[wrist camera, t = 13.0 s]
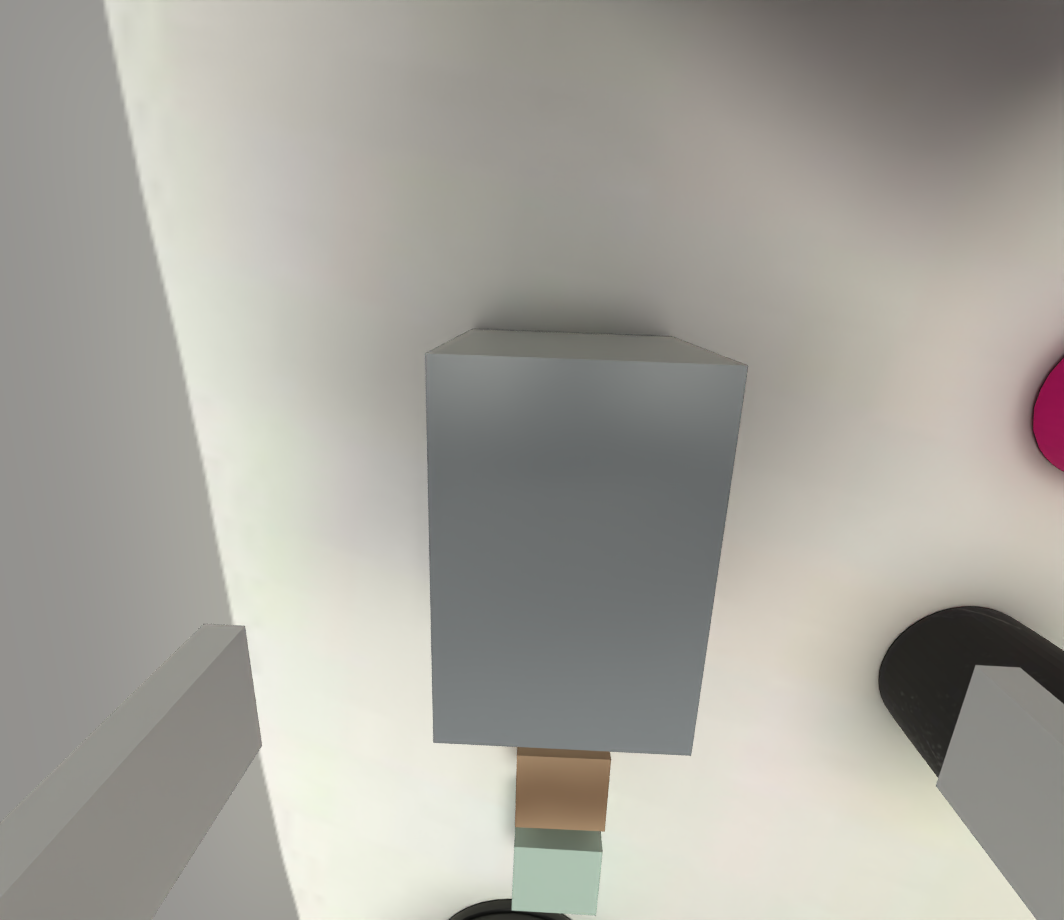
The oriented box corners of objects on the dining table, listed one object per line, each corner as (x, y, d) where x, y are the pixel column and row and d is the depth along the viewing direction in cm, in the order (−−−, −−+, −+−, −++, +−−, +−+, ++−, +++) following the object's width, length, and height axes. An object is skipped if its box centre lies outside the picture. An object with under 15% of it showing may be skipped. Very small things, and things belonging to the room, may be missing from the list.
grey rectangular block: (472, 328, 23) (425, 353, 14) (671, 336, 22) (748, 365, 14) (471, 593, 26) (433, 742, 17) (643, 600, 26) (691, 755, 17)
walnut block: (521, 691, 28) (516, 755, 24) (602, 694, 28) (610, 759, 24) (519, 755, 29) (515, 827, 25) (597, 759, 29) (604, 831, 25)
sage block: (518, 774, 29) (514, 847, 25) (595, 778, 29) (602, 852, 25) (516, 832, 30) (511, 910, 27) (590, 836, 30) (595, 915, 27)
